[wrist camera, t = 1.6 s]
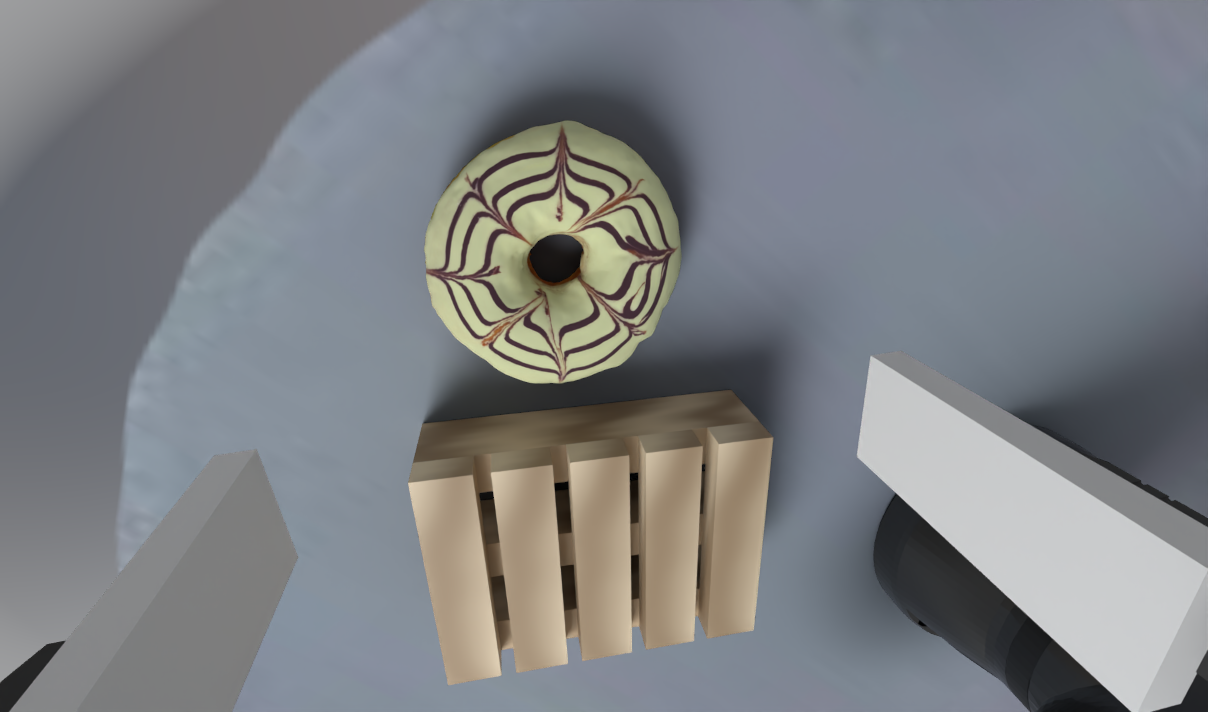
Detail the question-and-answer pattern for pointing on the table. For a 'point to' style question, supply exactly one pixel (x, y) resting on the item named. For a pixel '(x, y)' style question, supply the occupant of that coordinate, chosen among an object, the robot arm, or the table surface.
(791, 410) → the table surface
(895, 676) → the table surface
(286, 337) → the table surface
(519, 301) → the decorated donut
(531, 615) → the pallet
